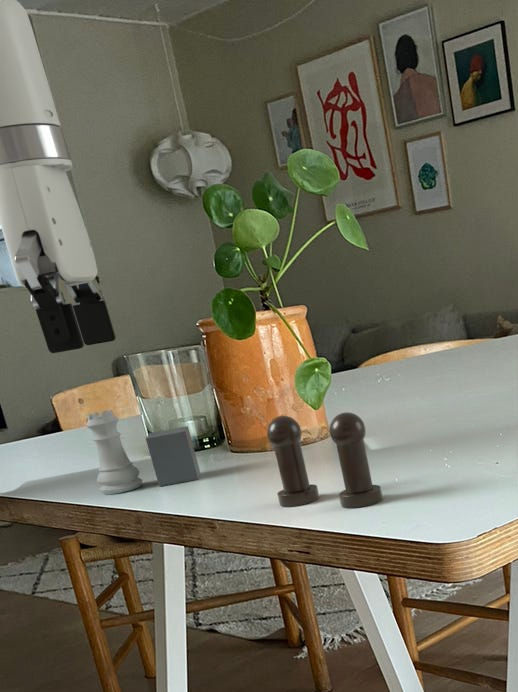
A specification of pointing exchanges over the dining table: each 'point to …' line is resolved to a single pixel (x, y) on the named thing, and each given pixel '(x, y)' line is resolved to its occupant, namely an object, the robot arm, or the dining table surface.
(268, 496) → the dining table surface
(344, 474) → the pawn
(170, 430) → the grey block
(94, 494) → the dining table surface
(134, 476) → the rook chess piece
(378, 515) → the dining table surface
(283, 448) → the pawn
